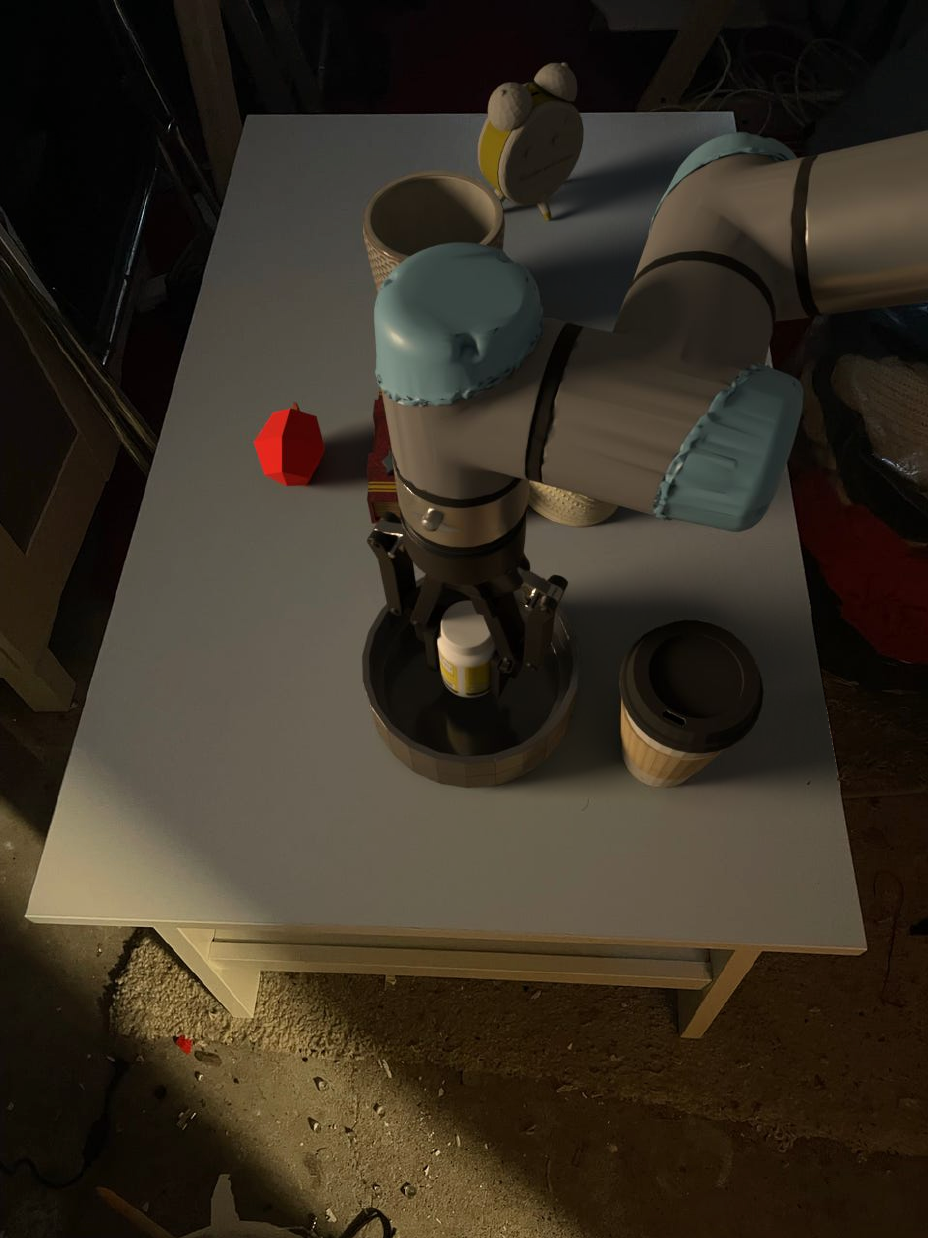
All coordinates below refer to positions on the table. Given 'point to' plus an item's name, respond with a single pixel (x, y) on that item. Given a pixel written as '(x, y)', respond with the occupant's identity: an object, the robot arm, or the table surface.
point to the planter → (429, 217)
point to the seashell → (567, 506)
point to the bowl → (467, 705)
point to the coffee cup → (685, 699)
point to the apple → (290, 446)
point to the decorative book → (381, 468)
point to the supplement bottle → (465, 651)
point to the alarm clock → (532, 137)
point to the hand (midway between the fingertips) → (470, 669)
